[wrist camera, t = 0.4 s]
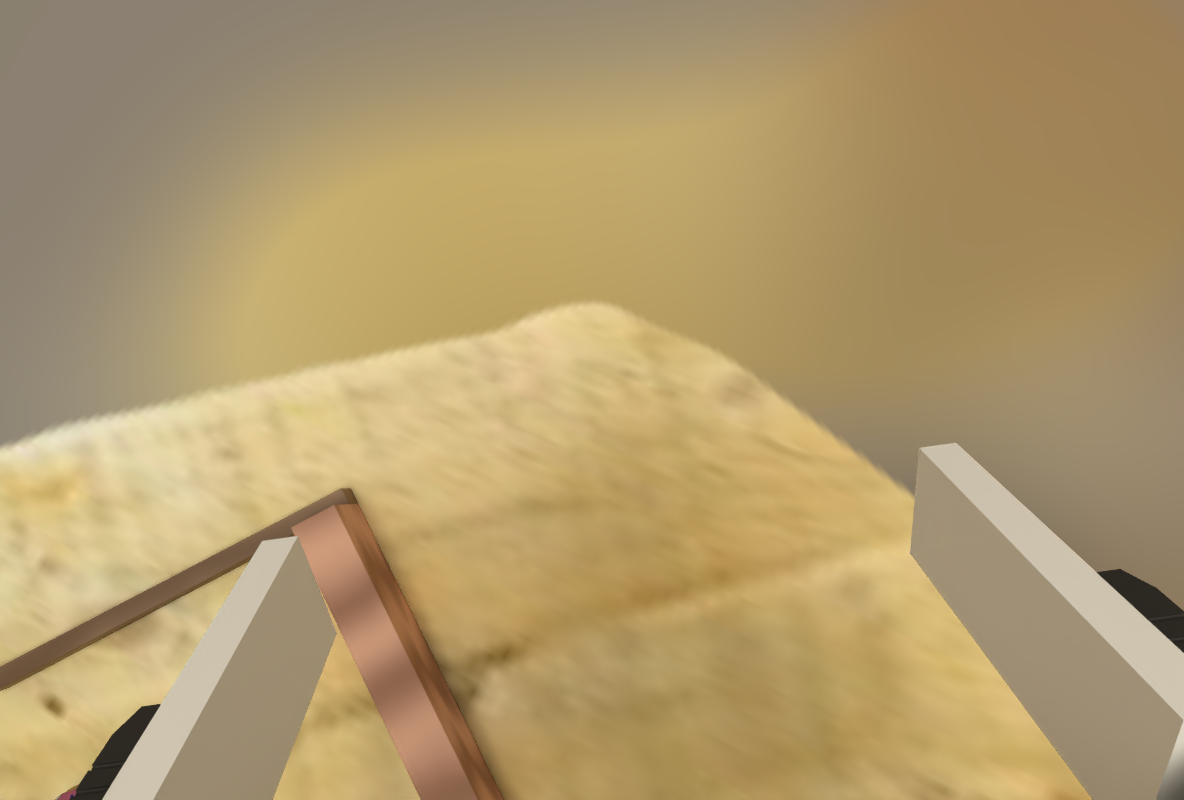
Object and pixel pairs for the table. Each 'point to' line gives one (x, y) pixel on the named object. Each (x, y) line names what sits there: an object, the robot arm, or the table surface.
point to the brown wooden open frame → (368, 625)
